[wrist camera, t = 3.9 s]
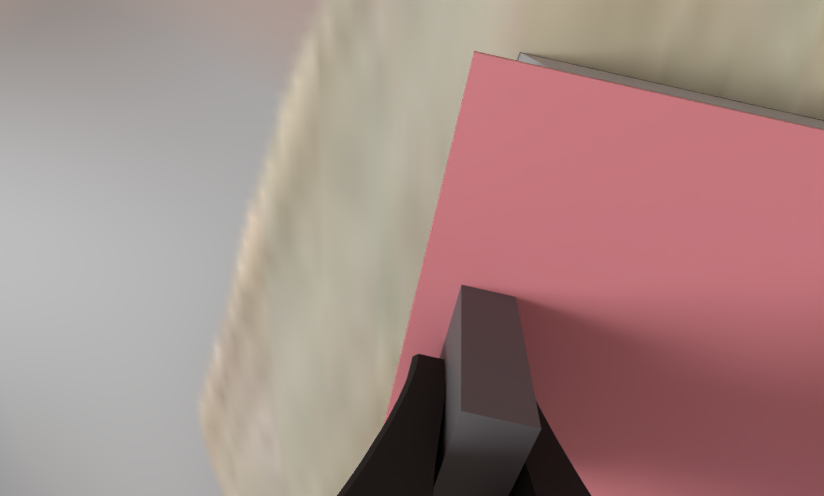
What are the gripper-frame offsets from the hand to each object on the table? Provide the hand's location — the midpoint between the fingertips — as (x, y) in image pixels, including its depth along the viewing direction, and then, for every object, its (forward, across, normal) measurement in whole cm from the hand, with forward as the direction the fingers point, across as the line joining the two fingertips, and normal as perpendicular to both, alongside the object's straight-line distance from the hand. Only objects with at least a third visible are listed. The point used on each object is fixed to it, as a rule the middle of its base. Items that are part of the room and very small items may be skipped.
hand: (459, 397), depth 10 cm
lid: (+1, -8, 0) cm, 8 cm away
